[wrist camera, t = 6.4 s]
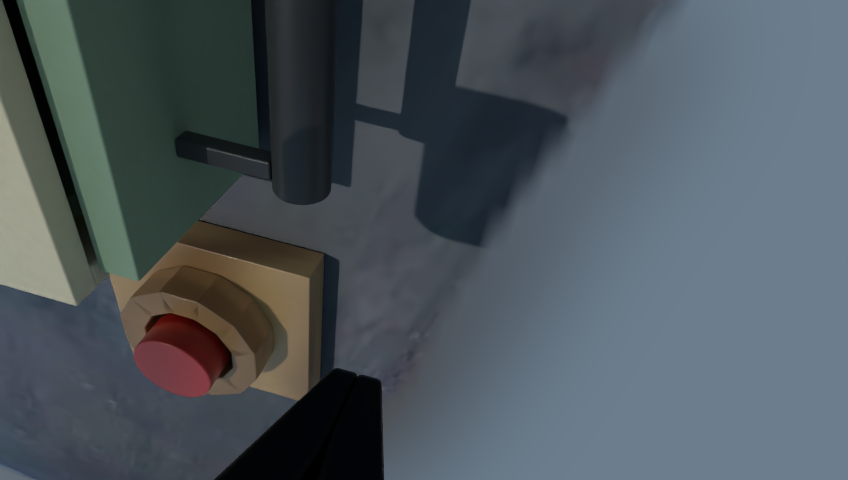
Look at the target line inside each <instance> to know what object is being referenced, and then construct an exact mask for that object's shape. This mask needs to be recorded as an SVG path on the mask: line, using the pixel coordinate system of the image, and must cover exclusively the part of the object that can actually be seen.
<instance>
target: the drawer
mask: <svg viewBox="0 0 848 480" xmlns="http://www.w3.org/2000/svg"><path fill="white" fill-rule="evenodd" d="M2 1H3V4H4V7H5V10H6V13H7V16H8V19H9V22H10V25H11V28H12V31H13V34H14V37H15V41H16V44H17V47H18V50H19V53H20V56H21V59H22V62H23V65H24V68H25V71H26V74H27V77H28V80H29V83H30V86H31V89H32V93H33V96H34V99H35V102H36V105H37V108H38V111H39V114H40V117H41V120H42V123H43V126H44V129H45V132H46V135H47V138H48V141H49V145H50V148H51V151H52V154H53V157H54V160H55V163H56V166H57V169H58V172H59V175H60V178H61V181H62V184H63V187H64V190H65V193H66V197H67V200H68V203H69V206H70V209H71V212H72V215H73V218H74V220H75V219H76V218H77V217H79V216H80V215H81V214H82V213H83V216H84V220H85V223H86V226H87V229H88V232H89V236H90V239H91V242H92V245H93V248H94V252H95V255H96V258H97V261H98V264H99V268H100V270H101V271H103V272H107V273H110V274H114V275H118V276H121V277H125V278H128V279H132V280H135V281H140V280H141V279H142V278H143V277H144V276H145V275H146V274H147V273H148V272H149V271H150V270H151V269H152V268H153V266H154V265H155V264H156V263H157V262H158V261H159V260H160V259H161V258H162V257H163V256H164V255H165V254H166V253H167V252H168V251H169V250H170V249H171V248H172V247H173V246H174V245H175V244H176V243H177V242H178V241H179V240H180V239H181V238H182V236H183V235H184V234H185V233H186V232H187V231H188V230H189V229H190V228H191V227H192V226H193V225H194V224H195V223H196V222H197V221H198V220H199V219H200V218H201V217H202V216H203V215H204V214H205V213H206V212H207V211H208V210H209V209H210V207H211V206H212V205H213V204H214V203H215V202H216V201H217V200H218V199H219V198H220V197H221V196H222V195H223V194H224V193H225V192H226V191H227V190H228V189H229V188H230V187H231V186H232V185H233V184H234V183H235V182H236V181H237V180H238V179H239V177H240V176H241V175H242V174H247V175H251V176H255V177H259V178H263V179H267V180H270V179H271V178H272V188H273V191H274V193H275V195H276V196H277V197H278V198H280V199H281V200H283V201H285V202H288V203H291V204H297V205H309V204H314V203H317V202H320V201H322V200H324V199H325V198H326V197H327V196H328V195H329V193H330V191H331V177H332V152H333V127H334V101H335V76H336V51H337V25H338V0H265V16H266V41H267V65H268V90H269V114H270V139H271V151H267V150H263V149H259V136H258V118H257V100H256V83H255V65H254V47H253V29H252V11H251V0H2Z"/></svg>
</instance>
